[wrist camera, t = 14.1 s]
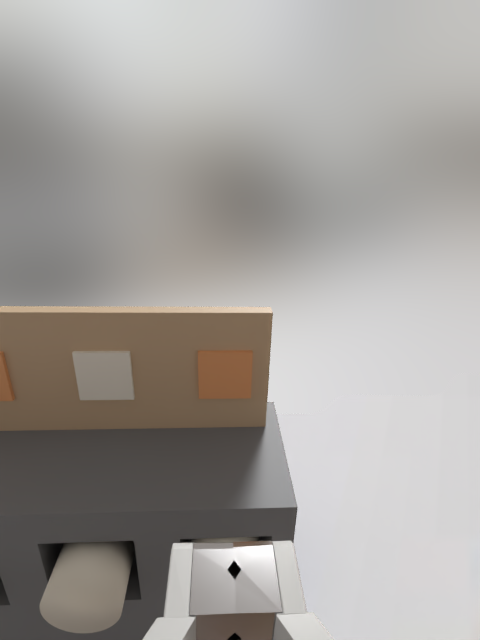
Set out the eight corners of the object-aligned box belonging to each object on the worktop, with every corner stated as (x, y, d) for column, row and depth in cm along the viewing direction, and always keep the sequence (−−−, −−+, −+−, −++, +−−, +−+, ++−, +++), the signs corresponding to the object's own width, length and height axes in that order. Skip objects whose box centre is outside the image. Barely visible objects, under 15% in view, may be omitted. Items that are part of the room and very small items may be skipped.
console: (-73, 667, 26) (-231, 373, 17) (3, 533, 35) (-72, 295, 26) (280, 649, 27) (313, 369, 18) (264, 524, 36) (281, 296, 27)
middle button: (47, 635, 22) (32, 585, 20) (69, 571, 25) (58, 524, 23) (125, 631, 22) (117, 582, 20) (137, 569, 25) (131, 522, 24)
